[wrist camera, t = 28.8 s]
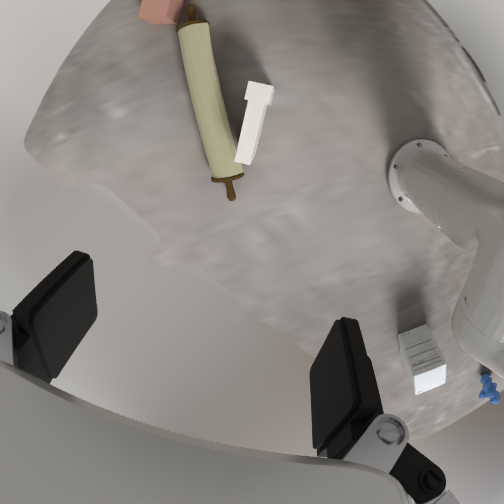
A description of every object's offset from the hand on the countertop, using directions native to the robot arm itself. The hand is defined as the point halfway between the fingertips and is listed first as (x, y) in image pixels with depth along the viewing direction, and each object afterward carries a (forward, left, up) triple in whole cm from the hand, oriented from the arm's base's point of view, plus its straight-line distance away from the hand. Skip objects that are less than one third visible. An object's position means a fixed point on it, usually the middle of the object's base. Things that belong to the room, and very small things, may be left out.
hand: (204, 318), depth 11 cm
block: (+20, -21, -38) cm, 48 cm away
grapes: (-78, +40, -38) cm, 96 cm away
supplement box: (-42, +29, -38) cm, 64 cm away
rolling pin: (+9, -7, -39) cm, 40 cm away
